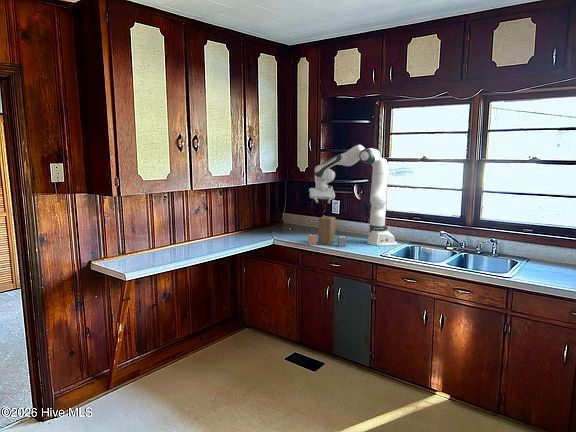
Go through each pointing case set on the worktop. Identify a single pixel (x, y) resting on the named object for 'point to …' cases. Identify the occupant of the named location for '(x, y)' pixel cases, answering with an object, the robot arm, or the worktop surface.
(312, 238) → the terracotta block
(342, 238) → the slate block
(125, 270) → the worktop surface
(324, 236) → the wooden block
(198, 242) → the worktop surface
